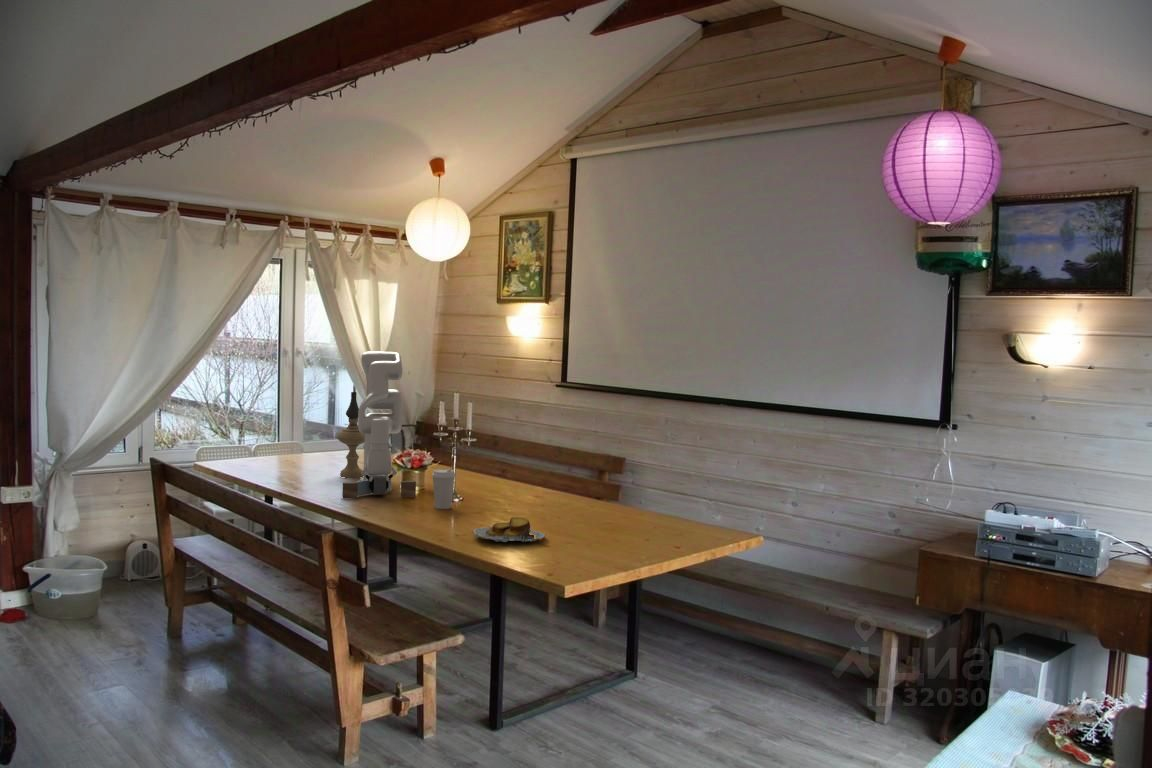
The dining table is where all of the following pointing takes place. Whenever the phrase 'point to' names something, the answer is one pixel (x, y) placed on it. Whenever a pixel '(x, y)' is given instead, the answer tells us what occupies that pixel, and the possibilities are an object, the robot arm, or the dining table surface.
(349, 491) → the pair of brown blocks
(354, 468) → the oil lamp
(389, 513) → the dining table surface
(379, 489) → the dark grey block
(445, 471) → the coffee cup
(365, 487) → the grey curved plank
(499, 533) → the food on plate
